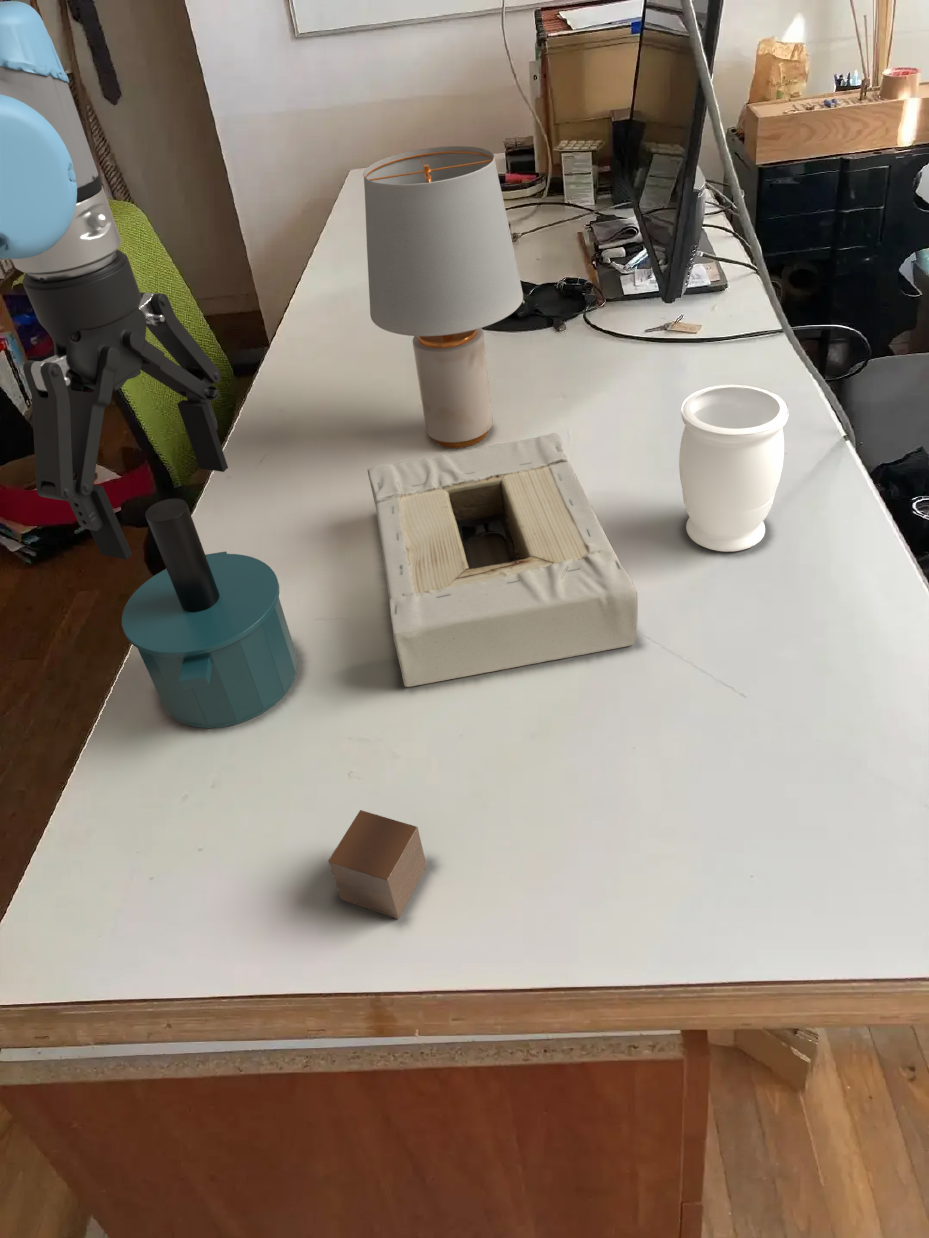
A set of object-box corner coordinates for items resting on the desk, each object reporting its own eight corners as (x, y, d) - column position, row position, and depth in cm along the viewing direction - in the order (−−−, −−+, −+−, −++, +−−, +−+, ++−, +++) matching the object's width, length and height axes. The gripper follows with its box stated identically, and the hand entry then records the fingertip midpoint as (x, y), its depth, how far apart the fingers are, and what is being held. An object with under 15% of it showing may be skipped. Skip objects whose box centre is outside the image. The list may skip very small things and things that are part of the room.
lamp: (545, 455, 119) (527, 172, 97) (399, 480, 118) (349, 201, 97) (518, 391, 134) (497, 133, 112) (388, 413, 133) (342, 157, 111)
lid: (112, 674, 81) (62, 572, 74) (139, 575, 93) (98, 479, 86) (277, 648, 82) (243, 544, 74) (284, 553, 93) (255, 455, 86)
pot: (147, 759, 85) (111, 685, 79) (175, 628, 100) (146, 557, 94) (294, 736, 85) (268, 660, 79) (300, 609, 100) (279, 536, 94)
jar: (659, 519, 105) (662, 398, 96) (741, 495, 107) (751, 374, 98) (707, 569, 97) (715, 443, 88) (794, 543, 99) (811, 416, 90)
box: (643, 647, 90) (560, 479, 114) (642, 584, 85) (556, 422, 109) (406, 698, 88) (374, 517, 113) (392, 637, 83) (361, 462, 108)
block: (341, 899, 71) (327, 861, 68) (371, 848, 75) (360, 809, 72) (398, 919, 70) (387, 880, 66) (427, 866, 73) (417, 826, 70)
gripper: (-21, 338, 57) (105, 605, 70) (215, 205, 73) (281, 441, 87) (-105, 331, 60) (33, 589, 73) (142, 204, 76) (216, 433, 90)
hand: (168, 509), depth 80 cm, fingers open, 13 cm apart
